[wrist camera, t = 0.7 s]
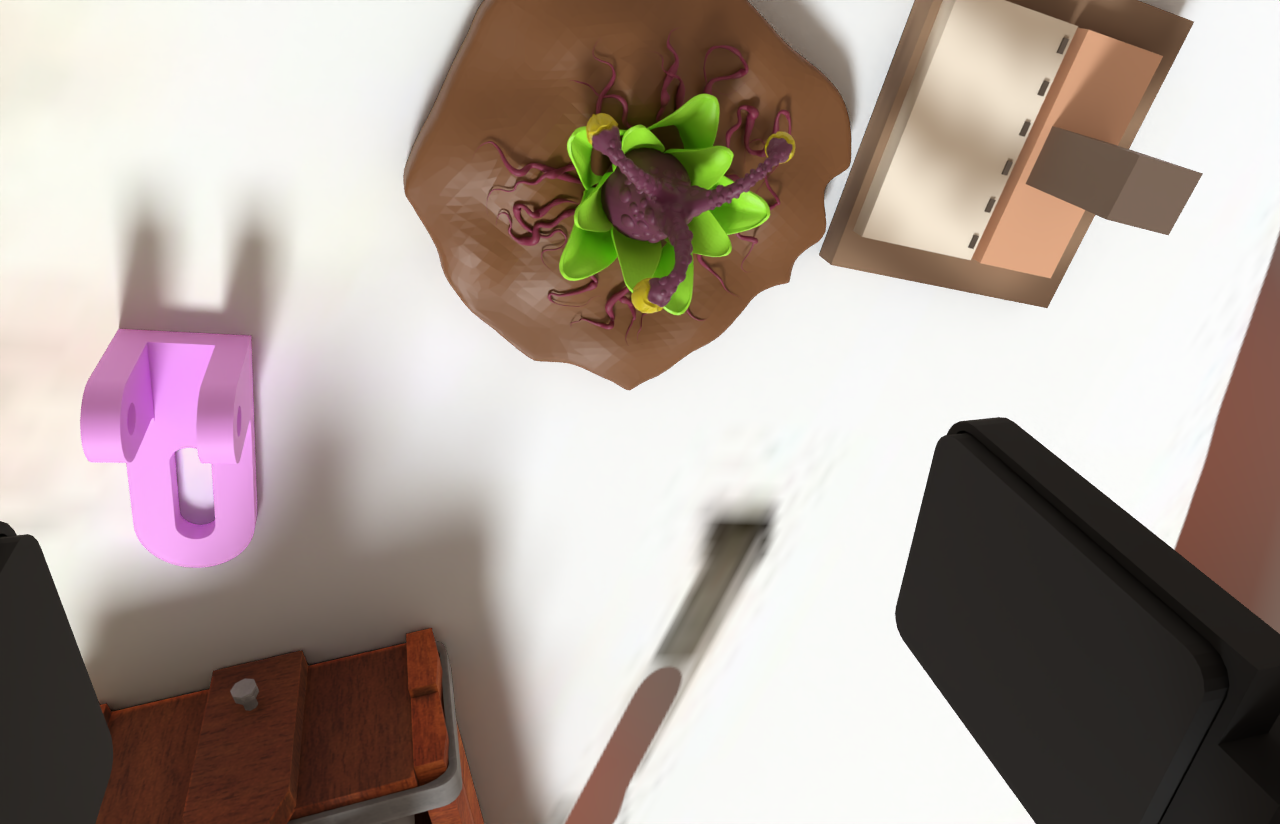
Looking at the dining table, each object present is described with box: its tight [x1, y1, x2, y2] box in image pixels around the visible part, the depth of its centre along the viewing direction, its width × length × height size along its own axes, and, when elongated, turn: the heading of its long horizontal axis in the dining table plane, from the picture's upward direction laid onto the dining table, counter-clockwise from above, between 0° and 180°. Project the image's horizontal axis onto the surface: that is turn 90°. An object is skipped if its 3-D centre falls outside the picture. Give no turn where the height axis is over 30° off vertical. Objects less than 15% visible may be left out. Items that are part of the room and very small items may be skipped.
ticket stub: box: [972, 28, 1202, 278], centre depth 43 cm, size 12×5×7 cm, turn 164°
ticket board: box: [819, 0, 1194, 308], centre depth 45 cm, size 16×15×3 cm
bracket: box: [80, 329, 257, 568], centre depth 41 cm, size 13×6×7 cm, turn 169°
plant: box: [403, 0, 851, 390], centre depth 38 cm, size 20×20×11 cm
